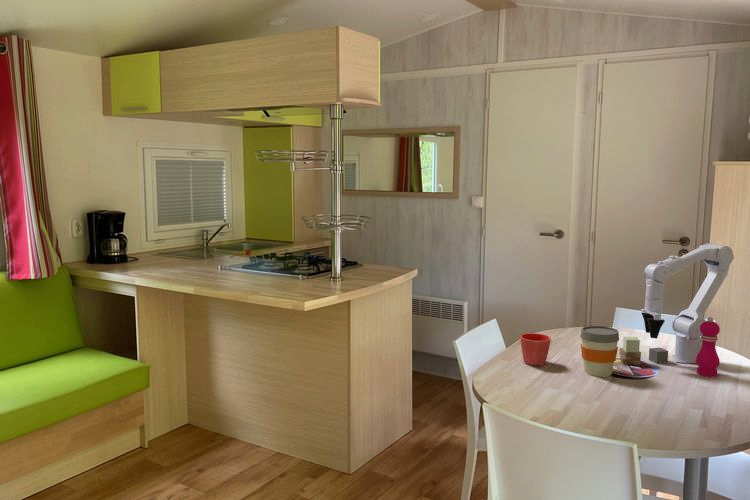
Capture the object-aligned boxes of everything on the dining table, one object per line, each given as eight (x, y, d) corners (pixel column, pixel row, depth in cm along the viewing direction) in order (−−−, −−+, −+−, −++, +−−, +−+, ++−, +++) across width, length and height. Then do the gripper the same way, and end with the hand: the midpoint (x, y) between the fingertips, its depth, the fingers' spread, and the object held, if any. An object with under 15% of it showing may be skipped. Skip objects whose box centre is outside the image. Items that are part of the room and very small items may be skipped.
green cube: (635, 349, 232) (636, 337, 231) (639, 352, 227) (639, 340, 227) (622, 348, 232) (623, 336, 232) (625, 352, 228) (626, 339, 227)
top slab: (634, 354, 233) (634, 348, 233) (640, 359, 228) (641, 352, 227) (619, 354, 233) (619, 348, 233) (625, 359, 228) (625, 352, 227)
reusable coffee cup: (575, 375, 217) (577, 332, 215) (582, 364, 228) (584, 323, 226) (614, 380, 211) (616, 336, 209) (619, 369, 222) (621, 328, 220)
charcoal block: (659, 359, 234) (660, 347, 234) (667, 363, 230) (668, 350, 229) (648, 360, 233) (649, 348, 233) (656, 363, 229) (657, 351, 228)
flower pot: (547, 358, 236) (547, 333, 234) (552, 368, 225) (553, 341, 224) (517, 357, 237) (518, 332, 235) (521, 367, 226) (522, 340, 225)
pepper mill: (721, 378, 213) (725, 319, 210) (698, 376, 215) (702, 319, 212) (714, 371, 220) (718, 314, 217) (692, 370, 222) (695, 314, 219)
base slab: (637, 361, 233) (637, 355, 233) (640, 366, 227) (640, 360, 227) (620, 360, 234) (620, 354, 234) (622, 365, 228) (622, 358, 228)
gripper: (638, 293, 234) (635, 329, 236) (646, 301, 220) (643, 339, 222) (658, 294, 232) (656, 330, 234) (668, 302, 218) (665, 341, 220)
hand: (651, 335), depth 228 cm, fingers open, 7 cm apart
